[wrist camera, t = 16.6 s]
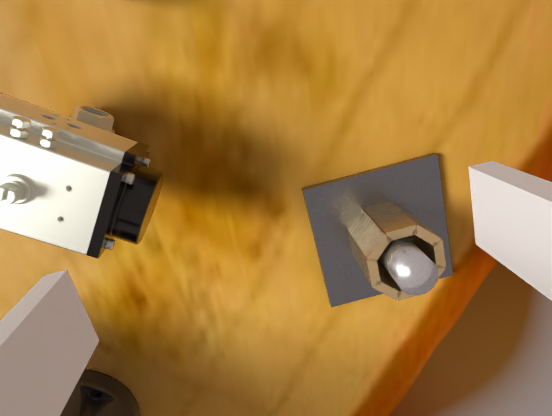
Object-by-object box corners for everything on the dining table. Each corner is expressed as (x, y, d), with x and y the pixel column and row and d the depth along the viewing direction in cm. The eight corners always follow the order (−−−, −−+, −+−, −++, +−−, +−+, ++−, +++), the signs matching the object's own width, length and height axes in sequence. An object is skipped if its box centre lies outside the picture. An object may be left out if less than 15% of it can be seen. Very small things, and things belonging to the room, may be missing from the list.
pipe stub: (329, 303, 54) (353, 364, 43) (301, 188, 49) (320, 223, 38) (449, 271, 54) (504, 324, 43) (433, 152, 49) (492, 177, 38)
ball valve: (184, 137, 46) (152, 175, 29) (162, 206, 48) (120, 277, 32) (15, 74, 43) (-131, 76, 26) (-2, 151, 45) (-146, 198, 28)
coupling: (356, 272, 52) (376, 306, 44) (343, 213, 49) (362, 239, 42) (418, 255, 52) (448, 286, 44) (409, 195, 49) (439, 218, 42)
